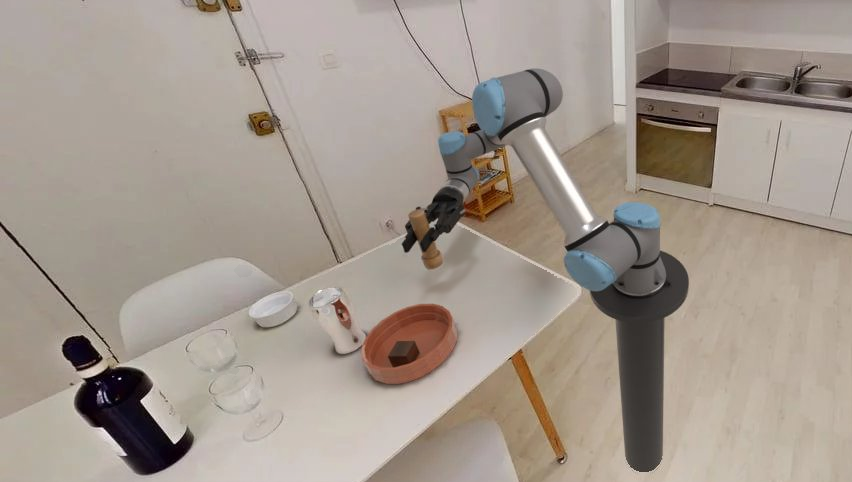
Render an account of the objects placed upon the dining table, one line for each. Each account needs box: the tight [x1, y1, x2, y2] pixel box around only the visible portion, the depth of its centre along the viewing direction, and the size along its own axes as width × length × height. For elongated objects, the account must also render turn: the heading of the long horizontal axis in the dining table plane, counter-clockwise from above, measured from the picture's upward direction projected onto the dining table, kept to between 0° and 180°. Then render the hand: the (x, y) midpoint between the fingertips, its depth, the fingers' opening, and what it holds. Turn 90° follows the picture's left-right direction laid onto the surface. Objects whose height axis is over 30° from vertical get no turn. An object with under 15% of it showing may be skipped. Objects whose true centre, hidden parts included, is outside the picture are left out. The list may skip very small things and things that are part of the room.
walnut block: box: [388, 341, 420, 367], centre depth 90 cm, size 4×4×4 cm
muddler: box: [407, 209, 444, 270], centre depth 104 cm, size 5×5×16 cm
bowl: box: [360, 303, 458, 385], centre depth 93 cm, size 18×18×5 cm
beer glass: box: [307, 285, 367, 355], centre depth 92 cm, size 7×7×15 cm
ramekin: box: [247, 290, 298, 328], centre depth 103 cm, size 9×9×4 cm
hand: (413, 247), depth 98 cm, fingers closed on muddler, 4 cm apart
